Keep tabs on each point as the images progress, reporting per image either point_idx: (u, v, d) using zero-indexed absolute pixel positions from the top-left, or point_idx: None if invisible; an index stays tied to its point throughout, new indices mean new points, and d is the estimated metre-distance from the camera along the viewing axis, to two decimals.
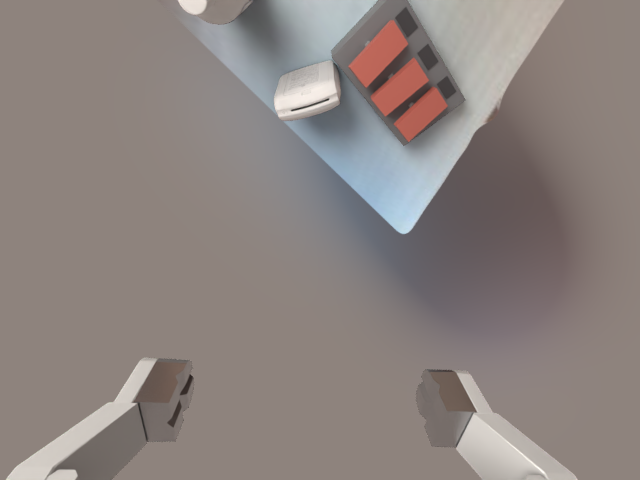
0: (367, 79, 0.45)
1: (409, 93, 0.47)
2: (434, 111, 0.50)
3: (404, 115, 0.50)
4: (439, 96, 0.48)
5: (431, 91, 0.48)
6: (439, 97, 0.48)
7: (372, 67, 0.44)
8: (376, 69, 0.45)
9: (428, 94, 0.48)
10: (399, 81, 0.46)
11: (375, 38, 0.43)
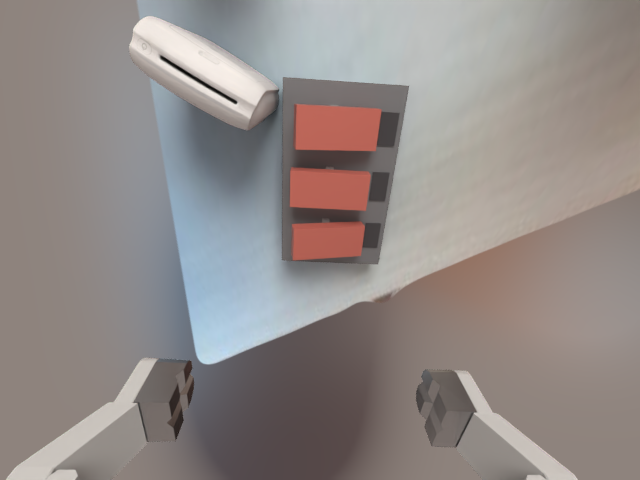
0: (305, 141, 0.28)
1: (336, 206, 0.32)
2: (344, 249, 0.34)
3: (311, 225, 0.33)
4: (361, 238, 0.34)
5: (357, 225, 0.34)
6: (360, 239, 0.34)
7: (320, 133, 0.28)
8: (323, 140, 0.28)
9: (353, 225, 0.34)
10: (335, 181, 0.30)
11: (349, 107, 0.28)
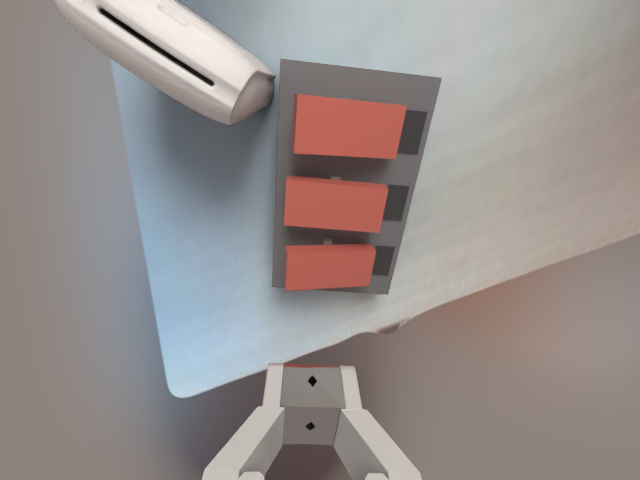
0: (306, 143, 0.21)
1: (343, 226, 0.25)
2: (349, 278, 0.28)
3: (310, 248, 0.26)
4: (370, 264, 0.28)
5: (366, 249, 0.27)
6: (369, 266, 0.28)
7: (327, 134, 0.21)
8: (330, 143, 0.22)
9: (361, 249, 0.27)
10: (343, 195, 0.24)
11: (366, 101, 0.21)
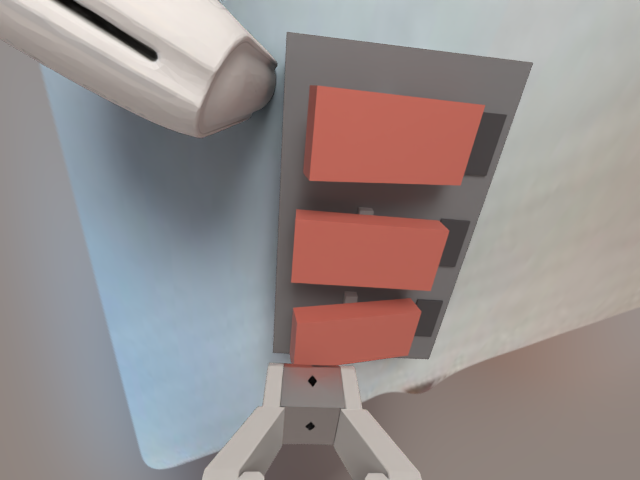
0: (330, 164, 0.13)
1: (378, 282, 0.17)
2: (382, 348, 0.20)
3: (328, 311, 0.18)
4: (412, 329, 0.20)
5: (407, 308, 0.19)
6: (410, 331, 0.20)
7: (362, 150, 0.13)
8: (366, 164, 0.14)
9: (401, 310, 0.19)
10: (381, 240, 0.16)
11: (424, 98, 0.13)
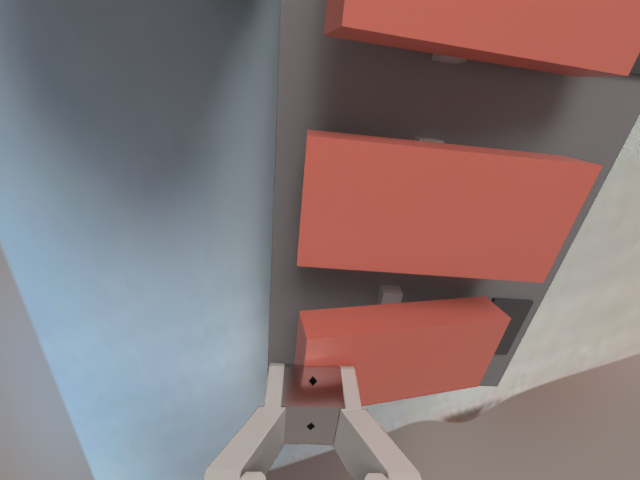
0: None
1: (453, 266, 0.09)
2: (442, 377, 0.12)
3: (359, 317, 0.11)
4: (491, 347, 0.12)
5: (487, 313, 0.12)
6: (489, 349, 0.12)
7: None
8: None
9: (477, 315, 0.12)
10: (471, 184, 0.08)
11: None
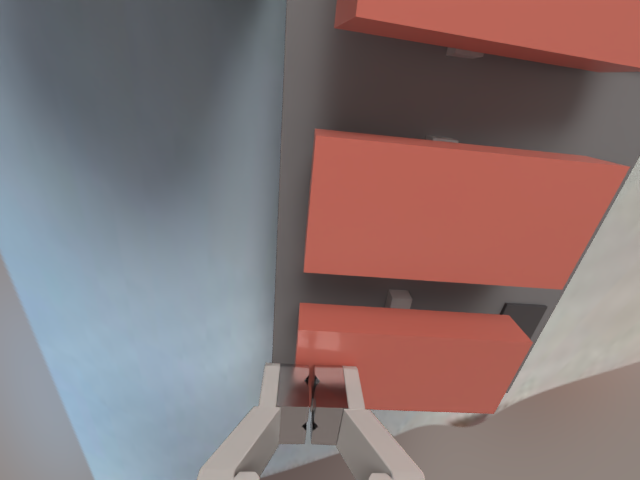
0: None
1: (468, 273, 0.09)
2: (448, 395, 0.11)
3: (358, 317, 0.11)
4: (509, 371, 0.11)
5: (505, 333, 0.11)
6: (505, 374, 0.11)
7: None
8: None
9: (492, 333, 0.10)
10: (489, 187, 0.08)
11: None
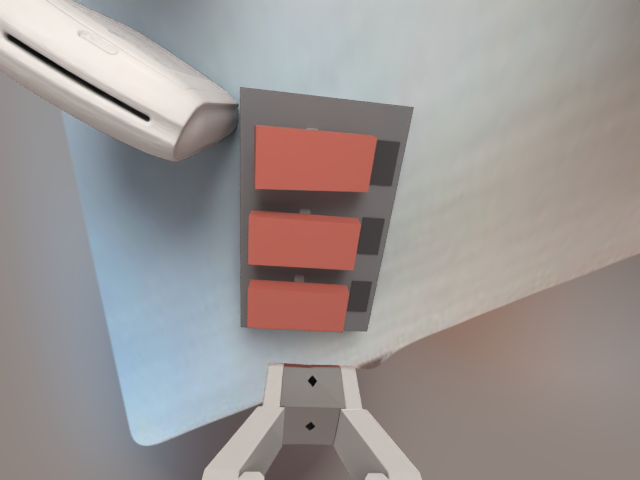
0: (269, 178, 0.19)
1: (313, 264, 0.23)
2: (319, 321, 0.25)
3: (275, 284, 0.24)
4: (343, 309, 0.25)
5: (339, 291, 0.24)
6: (342, 310, 0.25)
7: (292, 168, 0.20)
8: (295, 177, 0.20)
9: (332, 291, 0.24)
10: (312, 231, 0.22)
11: (333, 132, 0.20)
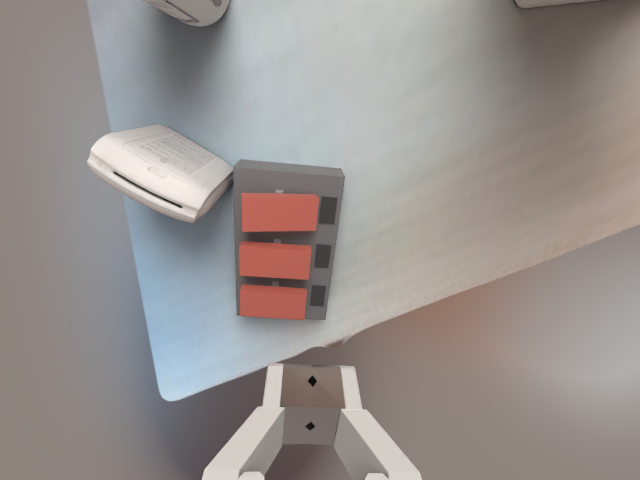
0: (250, 225, 0.32)
1: (281, 275, 0.35)
2: (287, 312, 0.38)
3: (258, 288, 0.37)
4: (303, 304, 0.37)
5: (300, 293, 0.37)
6: (302, 305, 0.37)
7: (264, 218, 0.32)
8: (267, 224, 0.32)
9: (296, 293, 0.37)
10: (280, 255, 0.34)
11: (290, 196, 0.32)
